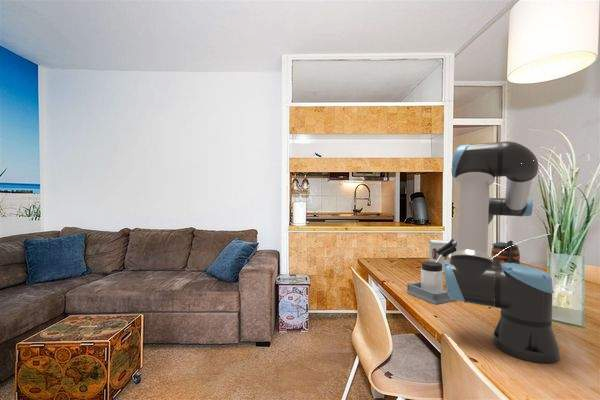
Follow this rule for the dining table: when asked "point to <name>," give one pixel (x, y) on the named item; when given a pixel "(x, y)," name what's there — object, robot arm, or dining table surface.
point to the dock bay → (427, 294)
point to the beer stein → (505, 254)
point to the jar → (432, 277)
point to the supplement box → (433, 249)
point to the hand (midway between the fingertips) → (448, 270)
